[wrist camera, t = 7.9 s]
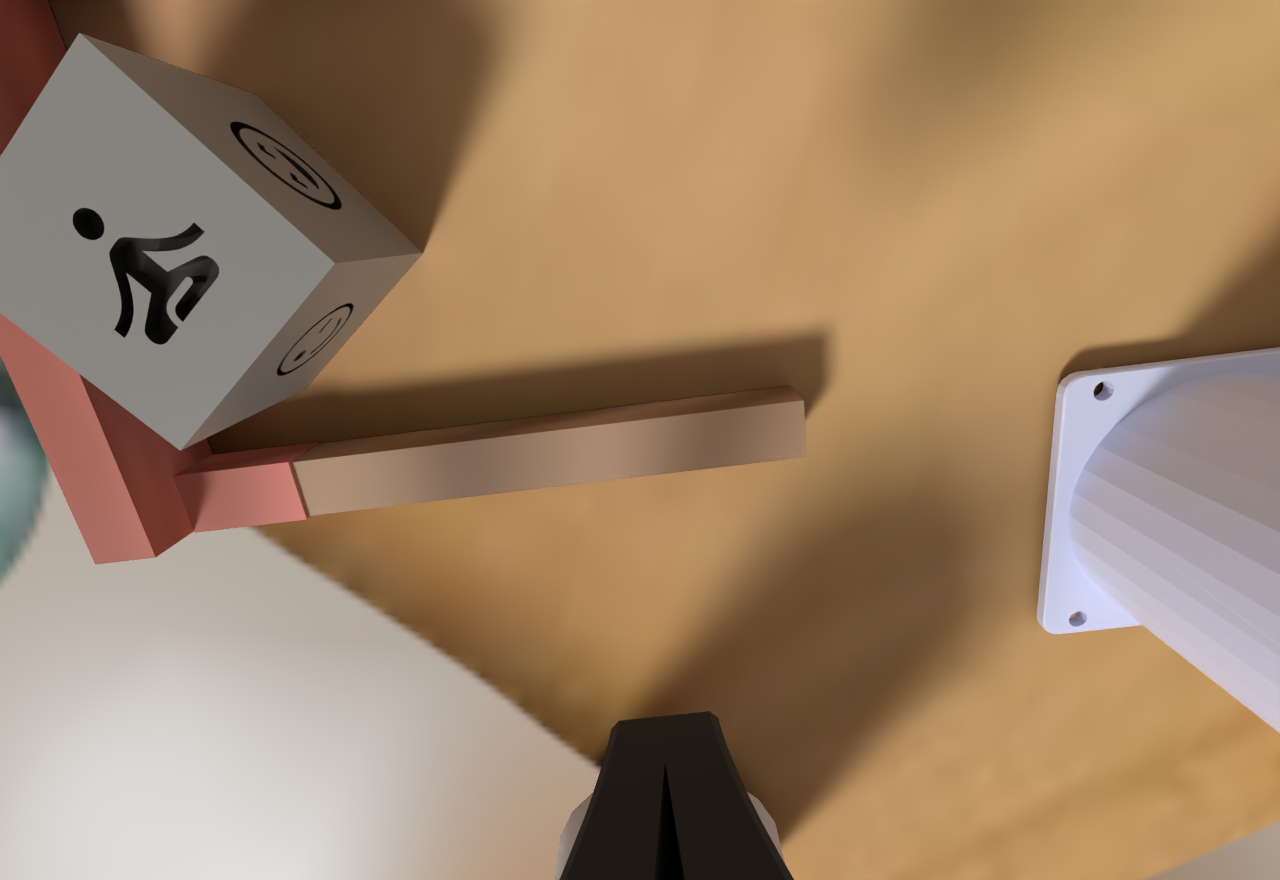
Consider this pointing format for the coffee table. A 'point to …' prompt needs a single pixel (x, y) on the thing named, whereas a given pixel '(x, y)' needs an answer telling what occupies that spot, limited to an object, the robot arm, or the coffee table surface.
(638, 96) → the coffee table surface
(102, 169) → the dice cube
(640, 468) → the guide channel
